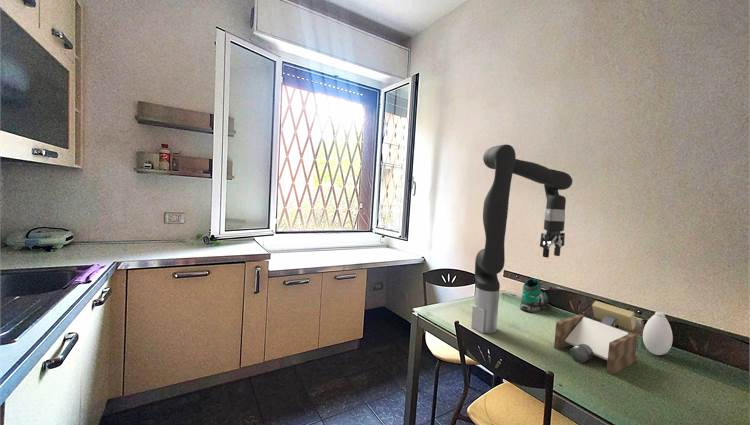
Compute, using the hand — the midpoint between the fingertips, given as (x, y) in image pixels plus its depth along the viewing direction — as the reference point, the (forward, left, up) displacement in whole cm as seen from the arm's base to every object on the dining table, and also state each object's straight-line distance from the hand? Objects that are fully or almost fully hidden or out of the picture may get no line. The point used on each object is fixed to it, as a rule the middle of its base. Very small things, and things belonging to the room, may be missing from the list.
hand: (551, 256), depth 128 cm
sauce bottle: (+13, -33, -30) cm, 47 cm away
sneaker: (+15, +15, -30) cm, 37 cm away
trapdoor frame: (-10, -23, -30) cm, 39 cm away
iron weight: (-16, -23, -28) cm, 39 cm away
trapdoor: (-4, -23, -25) cm, 34 cm away
